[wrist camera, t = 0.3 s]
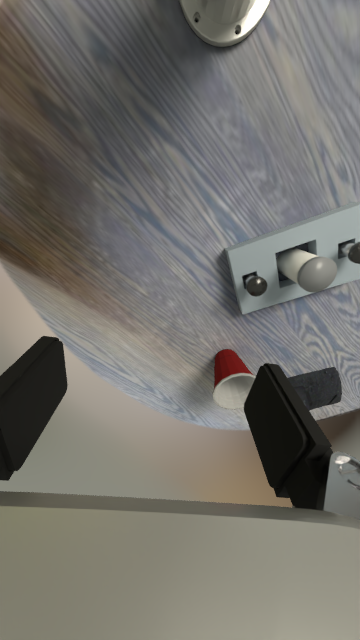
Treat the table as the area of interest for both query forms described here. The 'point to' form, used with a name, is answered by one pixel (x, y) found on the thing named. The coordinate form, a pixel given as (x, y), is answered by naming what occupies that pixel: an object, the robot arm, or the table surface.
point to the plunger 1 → (255, 284)
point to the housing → (260, 251)
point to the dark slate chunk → (318, 387)
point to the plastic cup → (231, 380)
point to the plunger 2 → (350, 251)
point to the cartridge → (307, 269)
